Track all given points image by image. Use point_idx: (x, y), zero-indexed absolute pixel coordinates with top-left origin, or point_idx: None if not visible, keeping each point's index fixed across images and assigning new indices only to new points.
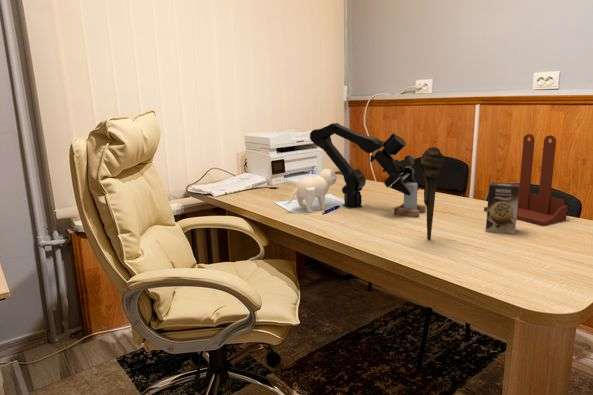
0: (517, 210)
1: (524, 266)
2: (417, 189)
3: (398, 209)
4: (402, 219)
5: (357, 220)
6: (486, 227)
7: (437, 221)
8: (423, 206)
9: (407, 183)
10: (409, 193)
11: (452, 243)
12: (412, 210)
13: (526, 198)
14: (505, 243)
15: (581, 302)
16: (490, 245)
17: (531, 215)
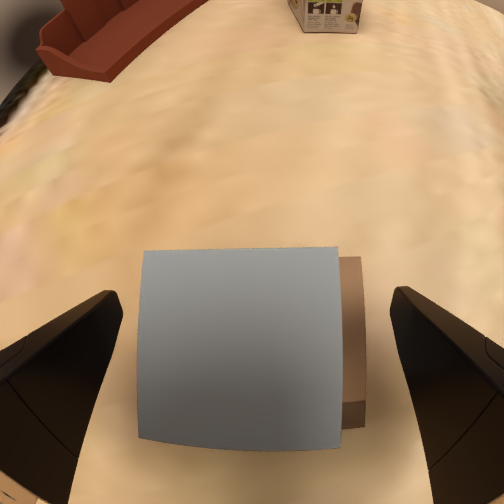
0: (112, 31)
1: (477, 22)
2: (115, 304)
3: (364, 396)
4: None
5: None
6: (358, 22)
7: (349, 155)
8: None
9: (246, 417)
10: (415, 295)
11: (500, 95)
12: (349, 294)
13: (91, 5)
14: (409, 17)
15: (500, 13)
16: (444, 36)
17: (157, 4)
